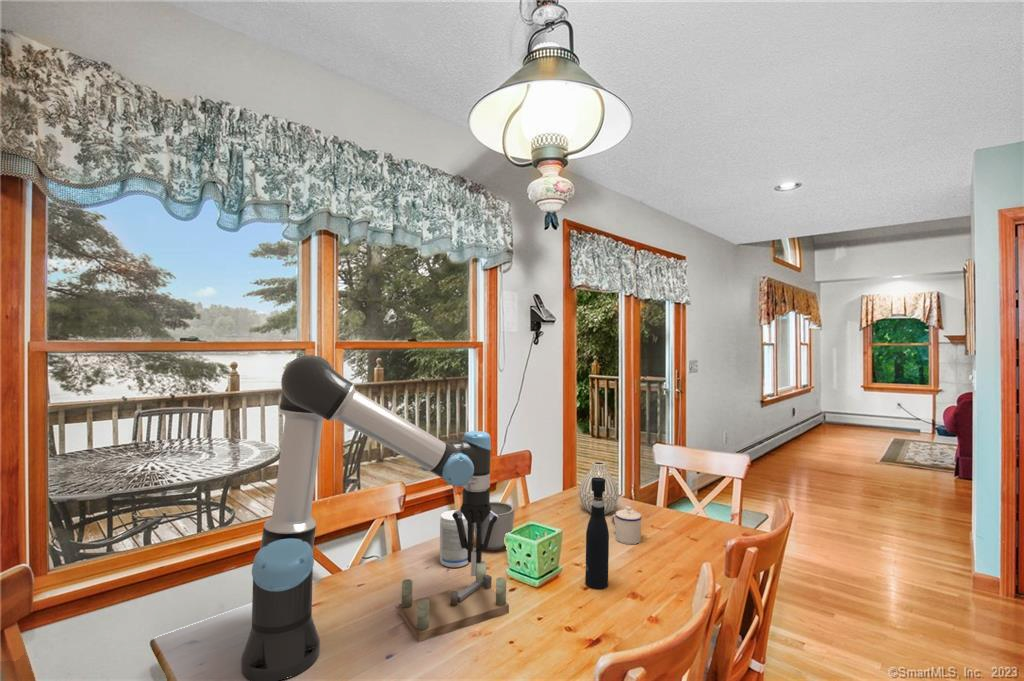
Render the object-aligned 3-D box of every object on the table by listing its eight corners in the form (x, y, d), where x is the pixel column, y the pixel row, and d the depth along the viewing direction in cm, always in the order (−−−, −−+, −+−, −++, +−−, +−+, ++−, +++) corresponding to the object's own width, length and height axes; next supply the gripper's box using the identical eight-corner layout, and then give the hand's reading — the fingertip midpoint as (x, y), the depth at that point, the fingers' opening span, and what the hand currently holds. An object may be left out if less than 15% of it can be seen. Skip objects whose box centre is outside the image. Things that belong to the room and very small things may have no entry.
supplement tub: (475, 564, 150) (476, 516, 150) (448, 571, 145) (448, 522, 145) (461, 552, 158) (462, 507, 159) (434, 559, 153) (435, 512, 153)
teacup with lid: (646, 541, 170) (647, 507, 171) (630, 547, 165) (630, 513, 165) (619, 530, 180) (620, 498, 180) (603, 536, 174) (603, 503, 174)
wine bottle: (612, 584, 139) (614, 479, 139) (600, 592, 135) (601, 483, 135) (593, 576, 144) (595, 474, 144) (580, 584, 139) (582, 478, 139)
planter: (521, 549, 162) (522, 510, 162) (486, 559, 154) (486, 518, 154) (499, 535, 173) (499, 499, 173) (465, 543, 165) (465, 505, 166)
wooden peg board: (419, 641, 111) (419, 606, 111) (398, 611, 123) (398, 579, 123) (510, 612, 124) (510, 580, 124) (483, 587, 136) (483, 558, 136)
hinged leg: (461, 602, 124) (462, 579, 124) (453, 598, 125) (453, 577, 125) (487, 582, 134) (488, 562, 134) (479, 580, 135) (479, 560, 135)
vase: (578, 516, 194) (579, 466, 194) (579, 503, 210) (580, 457, 210) (619, 519, 191) (619, 468, 191) (617, 506, 207) (617, 459, 207)
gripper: (449, 490, 132) (447, 578, 132) (496, 493, 130) (494, 582, 129) (457, 483, 139) (455, 565, 139) (501, 485, 137) (499, 570, 137)
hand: (474, 573), depth 134 cm, fingers closed
